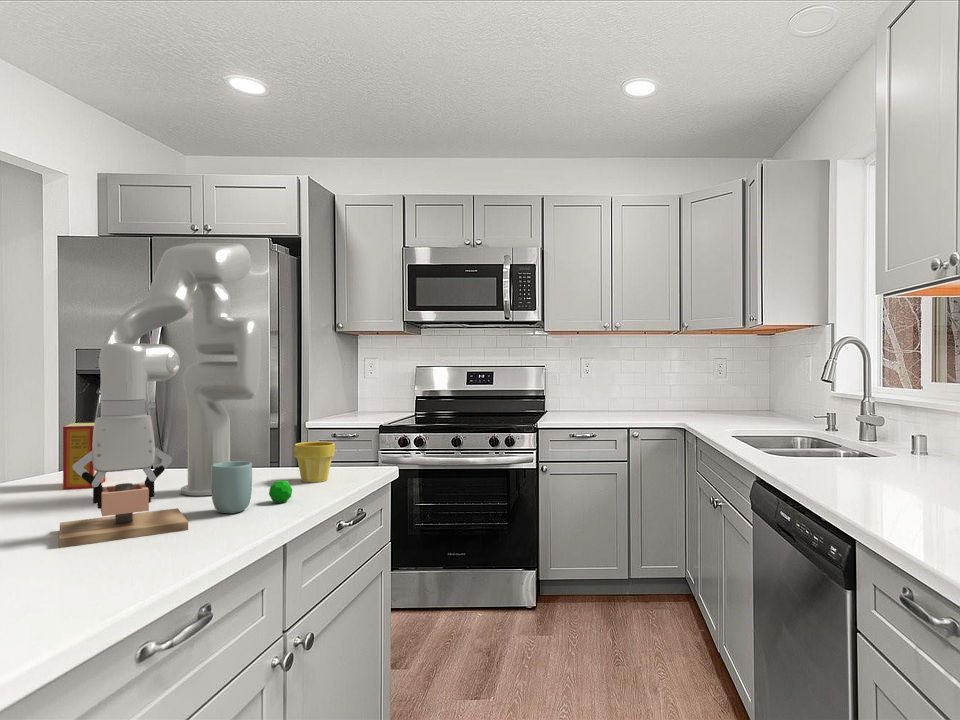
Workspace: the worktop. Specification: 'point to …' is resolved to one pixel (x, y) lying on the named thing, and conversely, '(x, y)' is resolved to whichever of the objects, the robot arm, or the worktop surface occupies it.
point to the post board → (121, 525)
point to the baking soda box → (77, 454)
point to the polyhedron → (280, 491)
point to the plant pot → (314, 460)
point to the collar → (125, 500)
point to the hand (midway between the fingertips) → (124, 503)
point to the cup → (231, 486)
